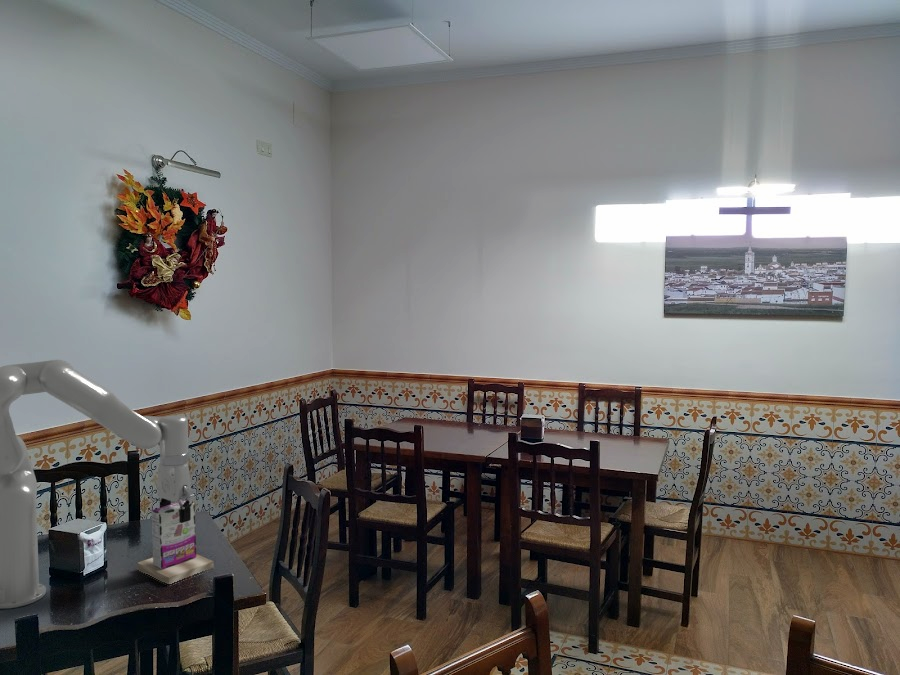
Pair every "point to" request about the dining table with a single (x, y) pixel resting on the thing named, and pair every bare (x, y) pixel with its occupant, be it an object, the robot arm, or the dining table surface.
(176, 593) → the dining table surface
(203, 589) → the dining table surface
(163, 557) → the candy bar box
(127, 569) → the dining table surface
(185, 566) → the pale wooden block
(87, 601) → the dining table surface
